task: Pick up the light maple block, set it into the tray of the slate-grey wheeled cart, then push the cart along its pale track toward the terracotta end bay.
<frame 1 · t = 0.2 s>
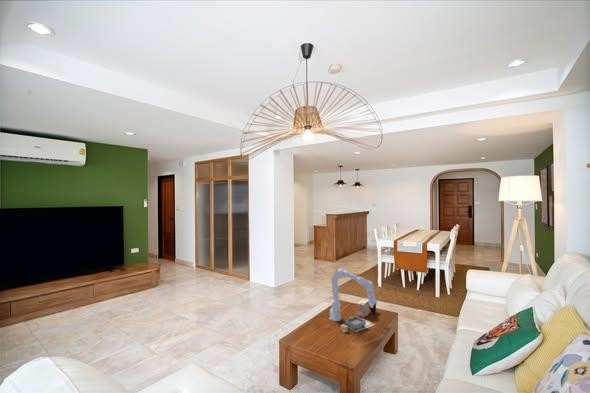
hand: (374, 313, 230), 10 cm above the table, tool pointing down, fingers open, 7 cm apart
stack of blocks: (365, 313, 254), on the table
track board: (359, 326, 230), on the table
cart: (355, 323, 227), point 4 cm above the table, slide at 0.0 cm
maple block: (344, 332, 221), on the table
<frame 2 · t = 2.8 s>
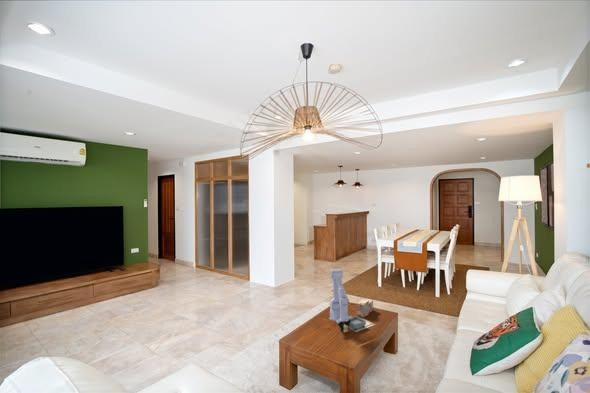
hand: (344, 330, 221), 1 cm above the table, tool pointing down, fingers closed on maple block, 4 cm apart
maple block: (344, 331, 221), on the table, touching gripper
everything else where it was.
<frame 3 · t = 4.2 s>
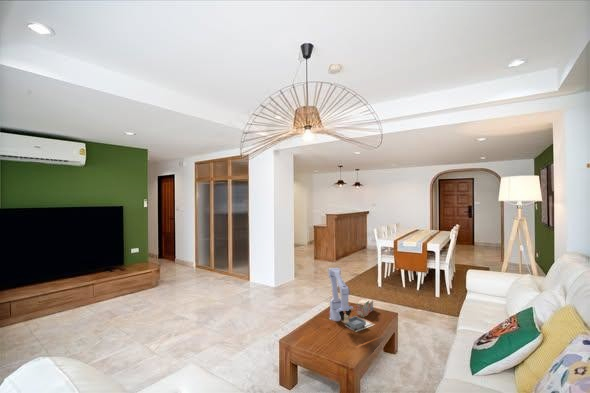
hand: (344, 319, 221), 9 cm above the table, tool pointing down, fingers closed on maple block, 4 cm apart
maple block: (345, 321, 221), point 8 cm above the table, touching gripper
everything else where it was.
when the fingers open (6 cm above the table, at t = 5.9 s): maple block stays where it is, resting on cart.
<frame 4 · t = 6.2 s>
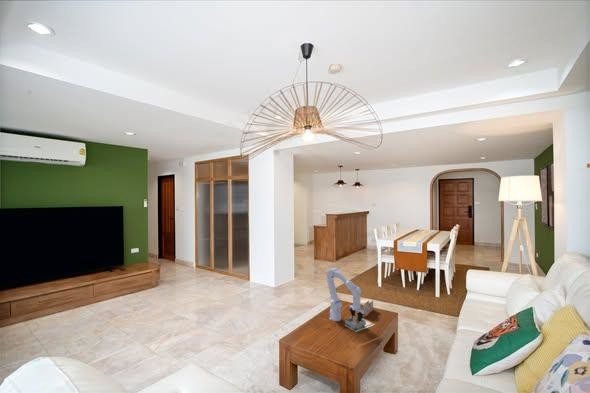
hand: (356, 319, 228), 6 cm above the table, tool pointing down, fingers open, 7 cm apart
cart: (355, 323, 227), point 4 cm above the table, slide at 0.0 cm, touching maple block
maple block: (356, 322, 228), point 4 cm above the table, touching cart
everything else where it was.
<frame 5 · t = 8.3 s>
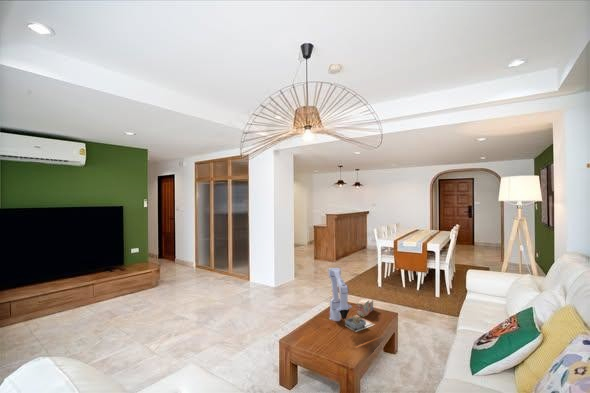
hand: (344, 318, 221), 10 cm above the table, tool pointing down, fingers closed
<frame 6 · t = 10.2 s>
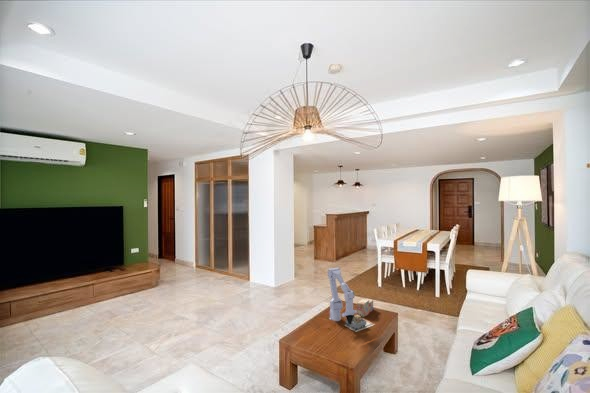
hand: (349, 323, 224), 5 cm above the table, tool pointing down, fingers closed
cart: (356, 323, 228), point 4 cm above the table, slide at 0.7 cm, touching gripper, maple block
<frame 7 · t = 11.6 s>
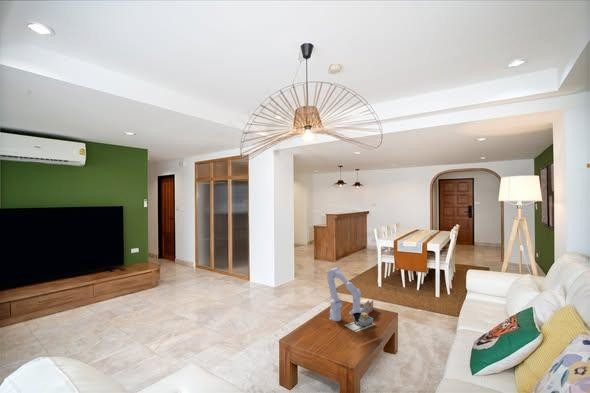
hand: (356, 321, 228), 5 cm above the table, tool pointing down, fingers closed
cart: (362, 320, 232), point 4 cm above the table, slide at 8.4 cm, touching gripper, maple block
maple block: (363, 319, 232), point 4 cm above the table, touching cart
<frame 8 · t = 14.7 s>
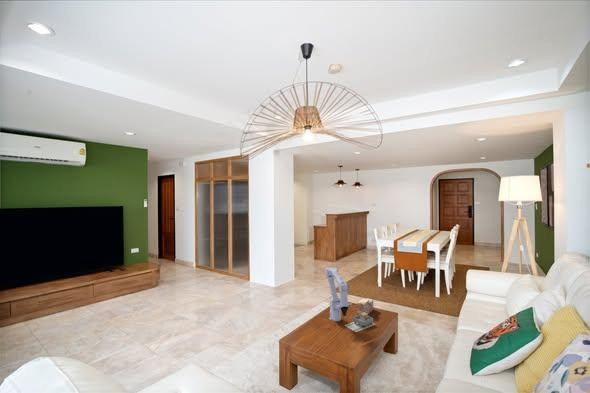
hand: (344, 315, 226), 10 cm above the table, tool pointing down, fingers closed
cart: (362, 320, 232), point 4 cm above the table, slide at 8.5 cm, touching maple block
at the end: cart slide at 8.5 cm; maple block inside the target area on the cart (0.8 cm from its centre), point 3.0 cm above the cart's base; maple block tilted 0° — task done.
